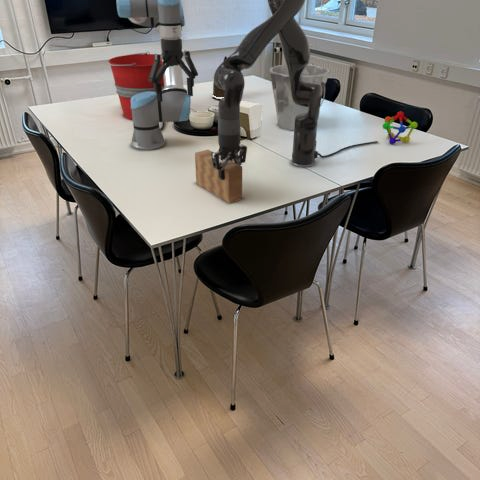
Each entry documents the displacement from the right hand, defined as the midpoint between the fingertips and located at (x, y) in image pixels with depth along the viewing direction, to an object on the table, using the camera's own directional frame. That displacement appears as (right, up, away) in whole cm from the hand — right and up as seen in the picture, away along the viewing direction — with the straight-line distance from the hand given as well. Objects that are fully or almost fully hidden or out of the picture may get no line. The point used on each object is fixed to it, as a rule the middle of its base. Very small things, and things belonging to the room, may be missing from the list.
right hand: (229, 176), depth 156 cm
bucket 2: (+33, +38, +77) cm, 92 cm away
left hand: (-21, +32, +14) cm, 41 cm away
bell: (-5, +68, +125) cm, 143 cm away
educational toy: (+78, +24, +54) cm, 98 cm away
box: (-4, -4, +9) cm, 11 cm away
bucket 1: (-49, +49, +93) cm, 116 cm away
